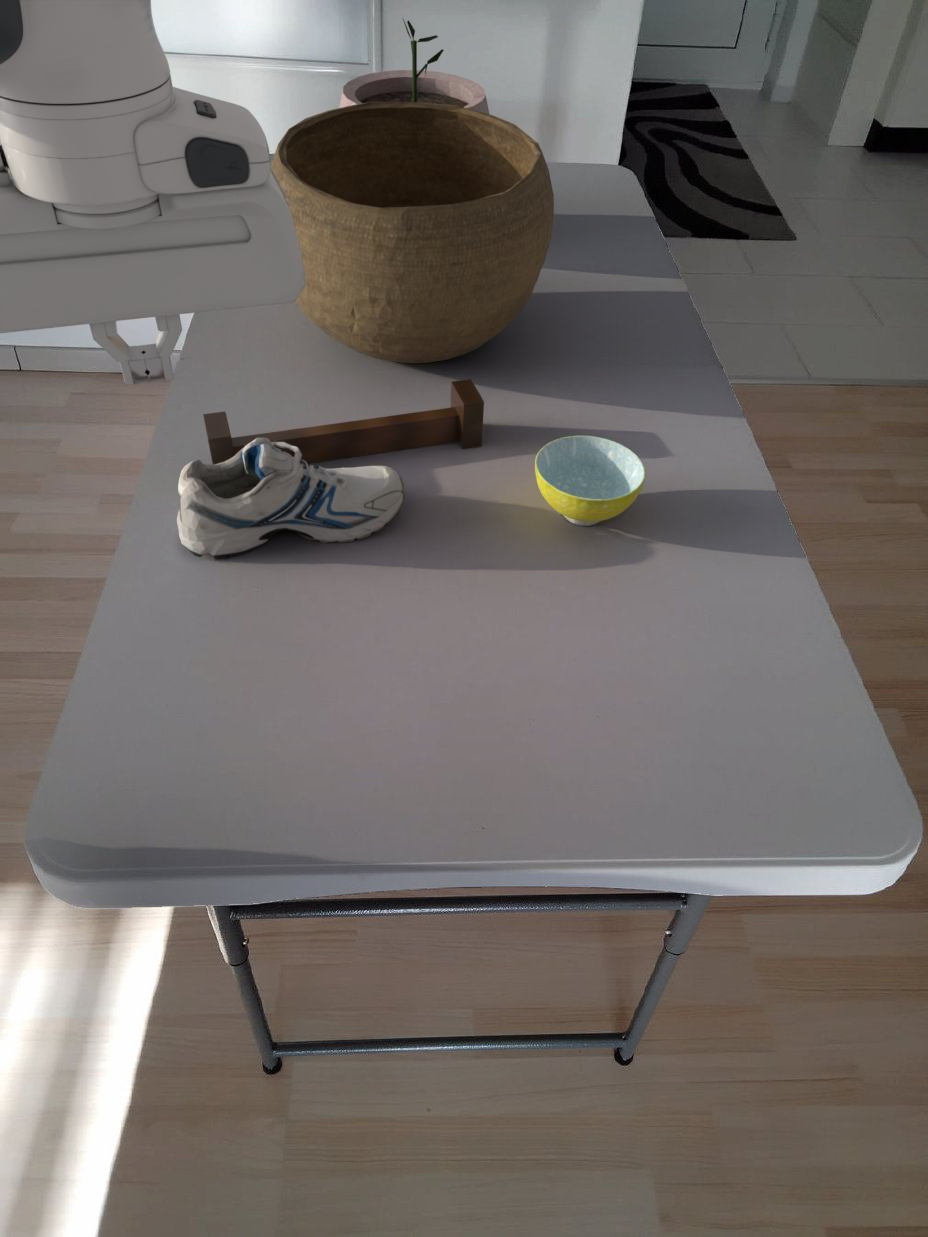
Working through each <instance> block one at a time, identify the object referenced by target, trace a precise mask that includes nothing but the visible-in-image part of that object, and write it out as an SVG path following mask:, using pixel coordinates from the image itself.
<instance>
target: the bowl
mask: <svg viewBox="0 0 928 1237" xmlns="http://www.w3.org/2000/svg"><path fill="white" fill-rule="evenodd" d="M534 473H535V479H536V483H537V486H538V490H539V491H540V494H541V495H542V497H543V498H544V499H545V501H546V502H547V504H548V505H549V506H550V507H551V508H552V509H553V510H555V512H557V513H559V514H560V515H561V516H563V517H564V519H565V520H567V521H568V522H569V523H572V524H574V525H577V526H581V527H583V526H584V527H587V526H593V525H596V524H598V523H601V522H602V521H606V520H607V521H608V520H611V519H612V518H614V517H617V516H619V515H620V514H622V513H623V512H624V511H626V510H627V509H629V507H630V506H631V505H632V504H633V503H634V502H635V501H636V499H637V498H638V496H639V494H640V492H641V491H642V488H643V486H644V483H645V480H646V474H647V473H646V467H645V465H644V463H643V461H642V460H641V458H640V457H639V456H638V455H637V454H636V453H635V452H634V451H633V450H631V449H630V448H629V447H627V446H626V445H624V444H621V443H619V442H617V441H614V440H612V439H608V438H604V437H600V436H594V435H569V436H563V437H560V438H557V439H554V440H552V441H550V442H548V443H547V444H545V445H544V446H543V447H542V448H540V450H539V451H538V452H537V454H536V456H535V459H534Z"/></svg>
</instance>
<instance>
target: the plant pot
mask: <svg viewBox="0 0 928 1237" xmlns="http://www.w3.org/2000/svg"><path fill="white" fill-rule="evenodd" d="M402 21H403V23H404V27H405V28H406V33H407V35H408V37H409V38H410V47H411V48H410V49H411V60H412V62H411V69H398V70H384V71H378V72H370V73H367V74H363V75H360V76H357V77H355V78H352V79H351V80H348V82H346V83H345V84H344V85H343V86H342V91H341V96H340V102H339V106H338V108H342V107H346V106H351V105H356V104H362V103H368V102H375V101H380V102H417V103H434V104H447V105H455V106H460V107H464V108H468V109H471V110H475V111H479V112H482V113H486V114H489V115H490V109H489V104H488V101H487V95H486V91H485V88H483V87H482V86H481V85H480V84H479V83H477V82H475V81H473V80H471V79H469V78H466V77H463V76H460V75H457V74H451V73H445V72H441V71H433V70H427V69H428V65H430V64H432V63H435V62H437V61H438V60H439V59H440V57H441V56H442V54H443V52H444V51H445V49H443V48H442V49H440V50H439V51H438V52H437V53H435V54H434V55H432V57H430V58H429V59H428V60H427V61H426V63H424V66H423V67H422V68H421V69H418V50H417V49H418V46H417V45H418V43H426V42H427V43H429V42H431V41H432V40H435V39H437V38H439V36H438V35H437V34H435V35H431V36H426V37H422V38H421V37H420V38H419V39H418V40H415V34H416V30H415V28H414V27H413V25H412V23H411V22H410V20H409V19H408V20H407V21H405V19H404V18H402ZM406 23H407V24H406ZM407 26H408V27H407ZM408 28H409V29H408ZM409 31H410V32H409Z"/></svg>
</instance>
